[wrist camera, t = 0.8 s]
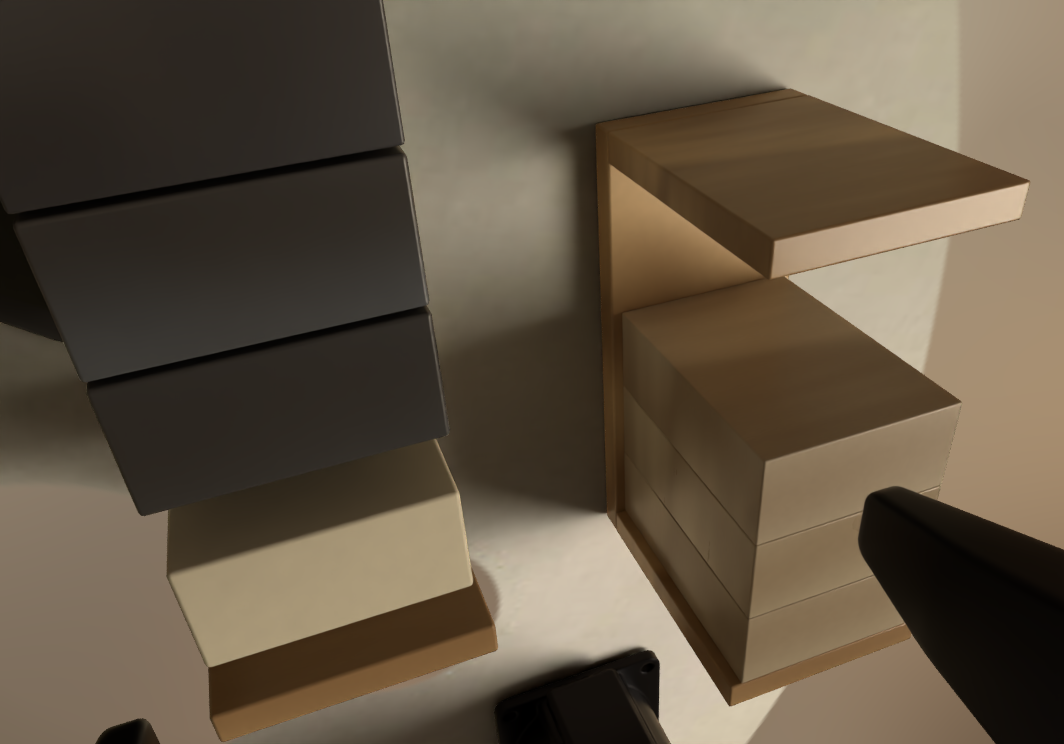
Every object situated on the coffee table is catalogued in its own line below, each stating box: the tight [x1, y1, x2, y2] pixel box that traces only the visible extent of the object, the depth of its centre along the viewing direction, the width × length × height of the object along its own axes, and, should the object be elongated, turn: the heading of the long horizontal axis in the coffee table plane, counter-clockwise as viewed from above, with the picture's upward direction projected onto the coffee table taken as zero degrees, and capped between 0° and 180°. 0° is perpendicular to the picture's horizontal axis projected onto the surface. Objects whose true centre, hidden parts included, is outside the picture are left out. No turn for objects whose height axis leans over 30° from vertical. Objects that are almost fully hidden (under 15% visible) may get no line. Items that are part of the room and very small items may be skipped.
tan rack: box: [0, 0, 498, 742], centre depth 16 cm, size 14×6×8 cm, turn 4°
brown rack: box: [595, 89, 1030, 706], centre depth 22 cm, size 13×6×8 cm, turn 4°
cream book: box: [167, 439, 473, 667], centre depth 18 cm, size 2×5×7 cm, turn 94°
